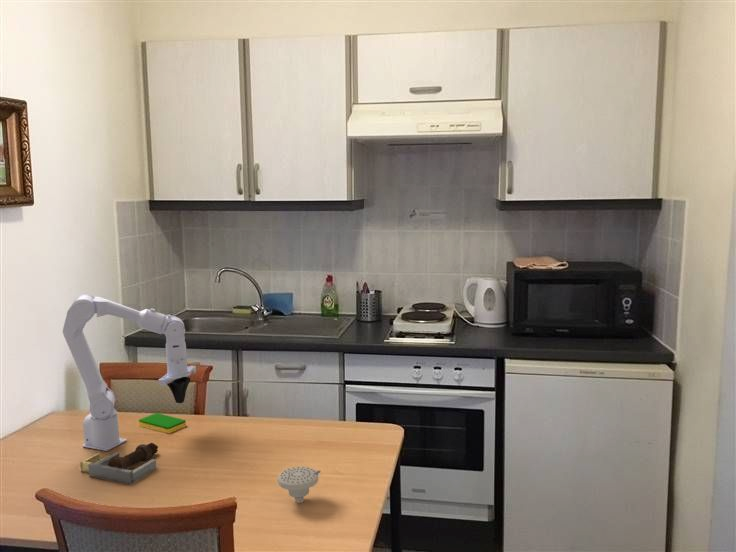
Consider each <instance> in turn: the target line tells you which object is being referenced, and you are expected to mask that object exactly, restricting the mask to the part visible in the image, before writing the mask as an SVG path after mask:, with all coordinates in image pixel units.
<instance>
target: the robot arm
mask: <svg viewBox="0 0 736 552" xmlns="http://www.w3.org/2000/svg"><path fill="white" fill-rule="evenodd" d="M95 314H96V318H100V317H104V316H108V315H110V316H114V317H116V318H120V319H123V320H124V319H125V320H127V321H128V320H129V321H131V322H135V323H136V324H137V326H138V328H140V329H143V330H147V331H150V332H153V333H156V334H160V335H163V334H164V336H165V341H166V343H165V355H166V356H165V357H166V368H167V371H166V372H167V373H165V374H164V375H163V376H162V377H160V378H159V379H158V386H159V387H166V386H167V387H168V388H169V390H170V391H171V393H172V395H173V398H174V401H175V403H177V404H183V403H184V402H185V398H186V394H187V390H188V386H189V384H190V383H191V377H190V376H191V374H195V373H197V366H196V365H190V366H189V365H188V358H187V344H186V343H187V342H186V341H185V340H186V336H185V334H186V329H185V327H186V326H185V323H184V321H183V320H182V319H181V318H179V317H178V316H175V315H172V314H168V313H167V314H164V313H161V312H158V311H156V309H155V308H150V309H148V308H145V309H143V310H137V309H135V308H132V307H129V306H126V305H124V304H121V303H119V302H116V301H113V300H110V299H106V298H103V297H102V296H93V295H91V294H89V293H84V294H81V295H79V296H77V297H76V298H75V299H74V302H73V303H72V304H71V306H70V307H69V308H68V310H67V312H66V317H65V320H64V324H63V327H62V334H63V337H64V339H65V341H66V344H67V346H68V349H69V351H70V353H71V355H72V358H73V360H74V362H75V364H76V367H77V369H78V371H79V374H80V376H81V378H82V381H83V383H84V386H85V388H86V392H87V398H88V400H89V411H90V412H89V414H87V415H86V416H85V418H84V420H83V423H82V429H83V440H84V443H83V444H82V447H83V448H87V449H94V450H99V451H105V452H107V451H109V450H111V449H113V448H116V447H118V446H119V445H121V444H124V443H125V442H127V439H126V438H121V437H120V430H119V429H120V428H119V418H118V417H119V416H118V410H116V409H115V407H114V406H115V402H116V394H115V393H114V392H113V390H112V389H110V388H109V387H108V384H107V382H106V381H105V380H104V378H103V376H102V375H101V371H100V369H99V367H98V365H97V362H96V360H95V357H94V356H93V355H94V354H93V352H92V350H91V348H90V345H89V343H88V341H87V338H86V336H85V334H84V332H83V331H84V328H85V326H86V325H87V323H88V322H90V320H92V318H93V317H94V316H95Z"/></svg>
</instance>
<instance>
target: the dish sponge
mask: <svg viewBox="0 0 736 552" xmlns="http://www.w3.org/2000/svg"><path fill="white" fill-rule="evenodd" d="M139 425H140V426H139ZM138 426H139V427H141V426H144V427H143V428H145V427H148V428H147V429H149V428H152V429H155V430H154V431H156V430H158V431H157V432H160V431H162V432H161V433H164V432H166V433H165V434H167V433H170V434H172V433H174V432H176V430H177V431H179V430H181V429H184V428H186V427H187V422H186V419H182V418H177V417H174V416H170V415H167V414H162V413H158V412H155V413H153V414H150V415H148V416H145V417H142V418H140V419H138ZM185 426H186V427H185ZM180 428H181V429H180ZM152 429H151V430H152ZM178 429H179V430H178ZM173 431H174V432H173ZM171 432H172V433H171Z"/></svg>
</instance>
